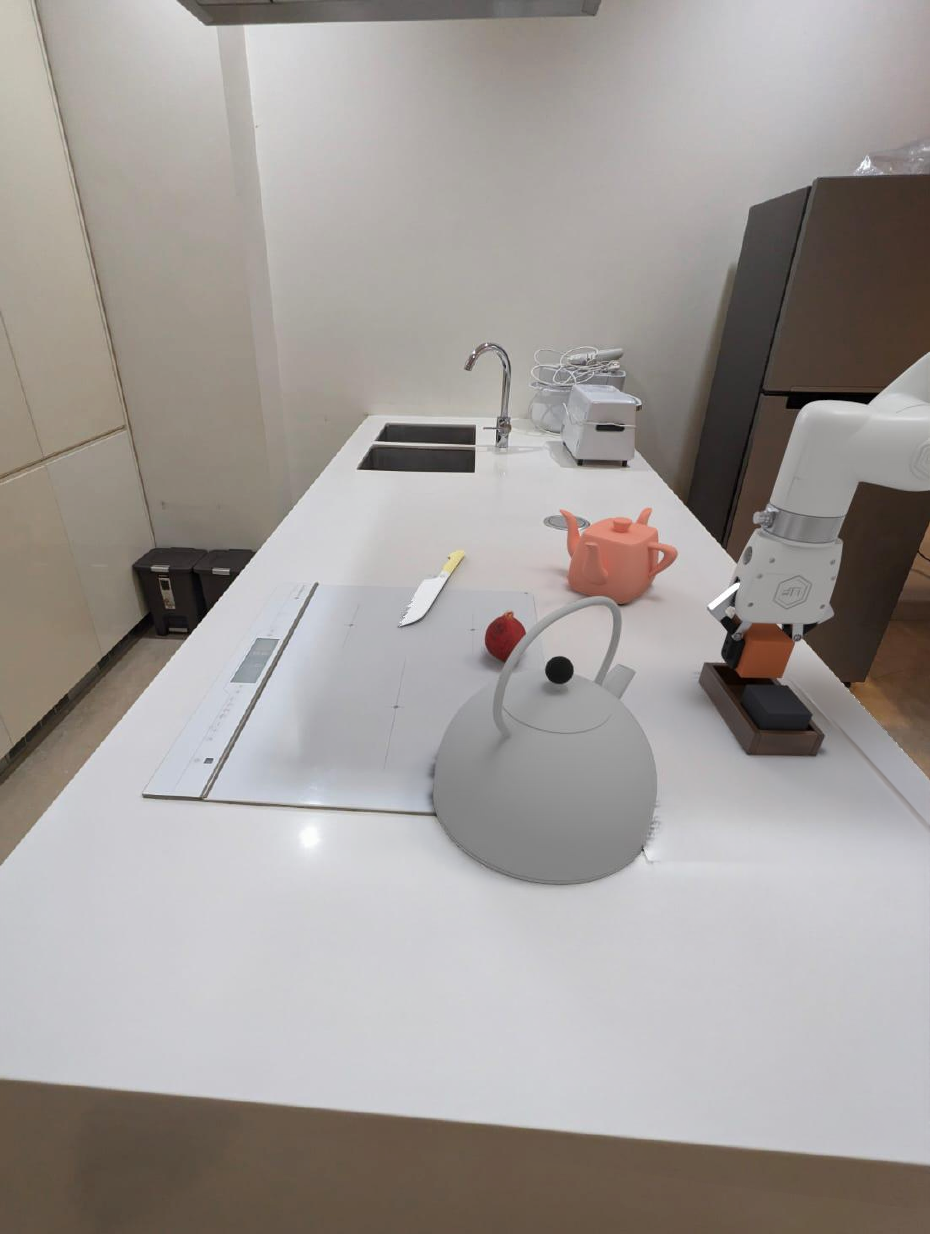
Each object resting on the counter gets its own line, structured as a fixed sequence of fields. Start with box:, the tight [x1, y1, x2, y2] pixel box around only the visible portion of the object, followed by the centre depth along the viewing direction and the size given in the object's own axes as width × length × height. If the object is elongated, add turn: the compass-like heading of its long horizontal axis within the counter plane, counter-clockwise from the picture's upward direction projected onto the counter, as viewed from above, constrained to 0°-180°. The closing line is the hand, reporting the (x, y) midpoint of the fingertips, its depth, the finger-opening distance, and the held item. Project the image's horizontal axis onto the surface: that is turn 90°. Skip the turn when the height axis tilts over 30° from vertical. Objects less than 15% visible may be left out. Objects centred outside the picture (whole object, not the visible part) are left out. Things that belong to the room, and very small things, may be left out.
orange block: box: [735, 623, 796, 679], centre depth 78 cm, size 5×6×5 cm
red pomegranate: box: [484, 609, 527, 663], centre depth 88 cm, size 6×6×8 cm
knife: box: [399, 549, 466, 627], centre depth 111 cm, size 1×33×5 cm
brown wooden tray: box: [698, 661, 826, 757], centre depth 78 cm, size 8×16×4 cm, turn 0°
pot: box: [558, 507, 679, 605], centre depth 109 cm, size 18×17×12 cm
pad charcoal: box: [740, 684, 814, 731], centre depth 75 cm, size 5×6×5 cm
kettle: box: [432, 596, 658, 885], centre depth 61 cm, size 25×23×22 cm
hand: (751, 662), depth 79 cm, fingers closed on orange block, 5 cm apart
